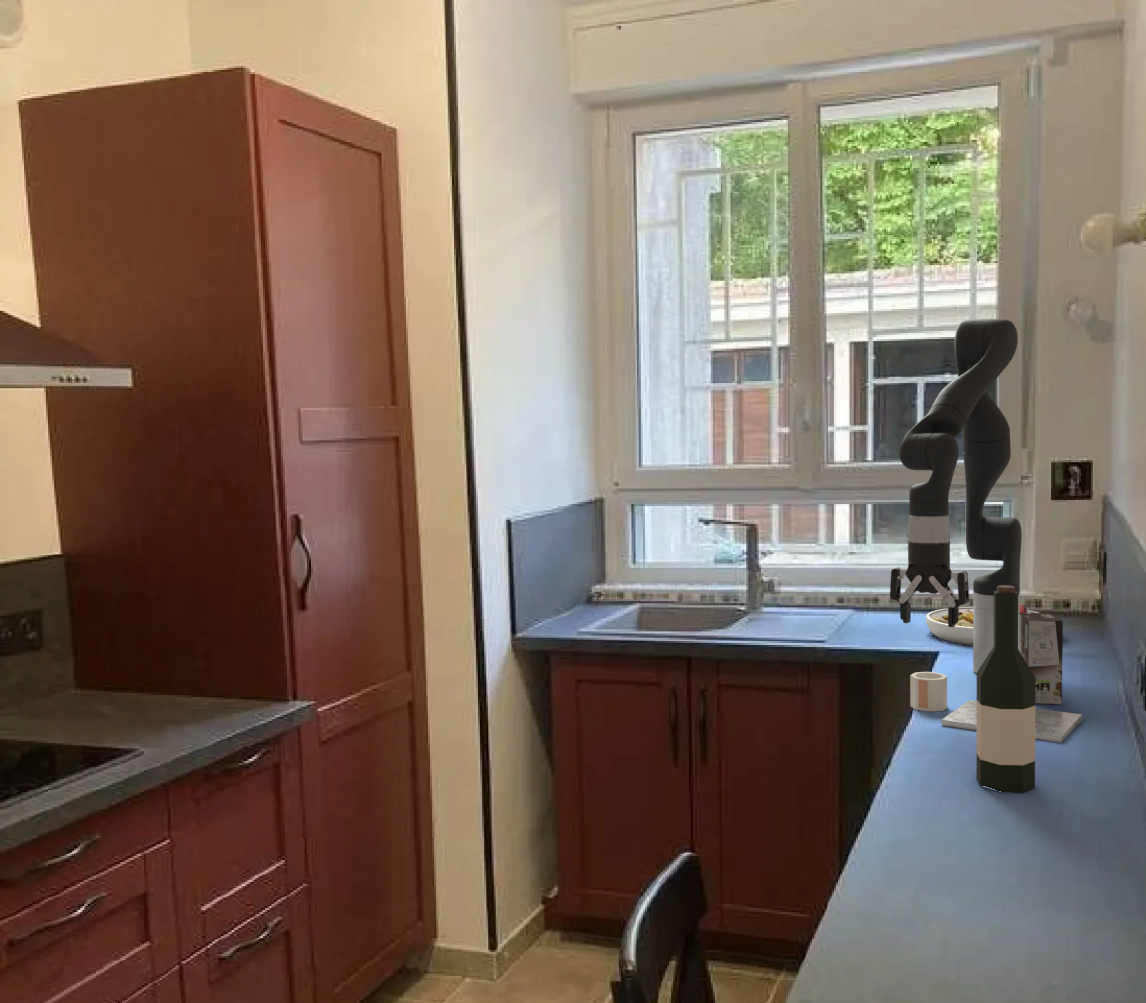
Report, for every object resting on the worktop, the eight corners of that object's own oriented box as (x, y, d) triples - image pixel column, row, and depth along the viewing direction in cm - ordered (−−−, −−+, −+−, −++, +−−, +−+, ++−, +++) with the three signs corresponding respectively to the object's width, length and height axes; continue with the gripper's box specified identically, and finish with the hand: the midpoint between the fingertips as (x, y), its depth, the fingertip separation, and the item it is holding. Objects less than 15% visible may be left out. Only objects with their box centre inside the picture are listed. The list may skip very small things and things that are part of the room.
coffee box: (1063, 704, 209) (1064, 620, 208) (1027, 703, 211) (1027, 620, 209) (1052, 692, 218) (1053, 611, 217) (1018, 692, 220) (1018, 611, 218)
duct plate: (968, 705, 211) (968, 674, 210) (1082, 720, 199) (1082, 687, 198) (941, 725, 198) (941, 692, 197) (1060, 742, 186) (1061, 707, 186)
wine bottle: (1029, 797, 161) (1030, 592, 158) (970, 788, 165) (970, 588, 163) (1039, 780, 168) (1041, 584, 165) (982, 772, 172) (982, 581, 170)
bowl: (1047, 654, 253) (1048, 620, 252) (913, 644, 268) (913, 612, 267) (1063, 630, 279) (1063, 599, 278) (940, 622, 294) (940, 593, 293)
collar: (918, 701, 215) (918, 670, 214) (950, 705, 211) (950, 674, 210) (906, 708, 209) (906, 677, 209) (939, 713, 206) (939, 681, 205)
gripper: (973, 538, 207) (973, 624, 208) (898, 535, 215) (899, 618, 216) (961, 542, 201) (961, 631, 202) (884, 539, 209) (885, 624, 210)
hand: (928, 624), depth 209 cm, fingers open, 8 cm apart
